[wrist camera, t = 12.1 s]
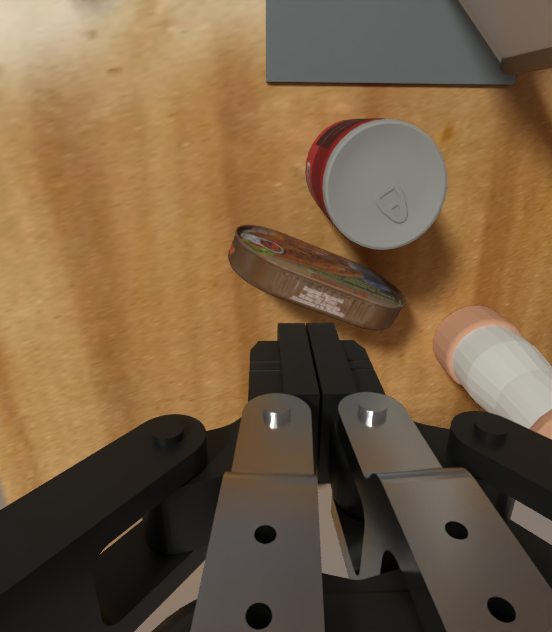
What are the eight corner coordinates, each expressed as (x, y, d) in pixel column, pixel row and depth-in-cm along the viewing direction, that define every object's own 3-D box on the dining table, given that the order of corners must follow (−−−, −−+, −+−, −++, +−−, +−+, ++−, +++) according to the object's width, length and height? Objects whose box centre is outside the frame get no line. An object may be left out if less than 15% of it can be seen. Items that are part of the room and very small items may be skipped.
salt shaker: (417, 345, 45) (525, 490, 27) (472, 290, 43) (626, 409, 25) (466, 383, 47) (595, 541, 29) (520, 333, 45) (694, 469, 27)
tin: (391, 276, 42) (423, 312, 34) (375, 306, 43) (403, 347, 35) (238, 214, 39) (236, 238, 31) (226, 248, 40) (220, 278, 32)
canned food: (354, 235, 40) (389, 273, 30) (284, 176, 38) (296, 197, 28) (416, 164, 38) (475, 180, 28) (346, 97, 36) (383, 88, 26)
